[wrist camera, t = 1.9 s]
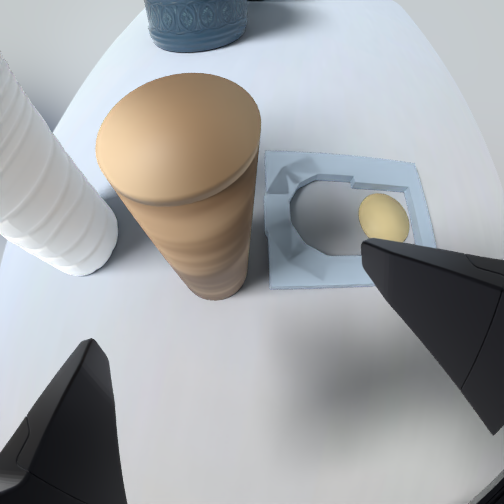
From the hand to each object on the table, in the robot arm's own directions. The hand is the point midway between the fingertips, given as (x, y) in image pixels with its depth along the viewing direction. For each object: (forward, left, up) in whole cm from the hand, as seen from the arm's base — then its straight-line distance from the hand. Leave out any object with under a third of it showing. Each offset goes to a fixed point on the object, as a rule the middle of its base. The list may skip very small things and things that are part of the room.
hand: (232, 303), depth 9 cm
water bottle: (-5, +14, -12) cm, 19 cm away
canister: (+22, +29, -12) cm, 39 cm away
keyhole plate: (+13, -1, -12) cm, 17 cm away
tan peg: (+2, +4, -12) cm, 12 cm away
